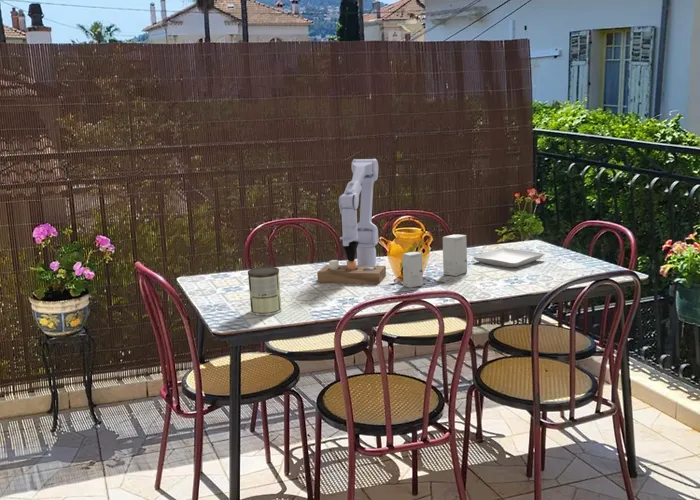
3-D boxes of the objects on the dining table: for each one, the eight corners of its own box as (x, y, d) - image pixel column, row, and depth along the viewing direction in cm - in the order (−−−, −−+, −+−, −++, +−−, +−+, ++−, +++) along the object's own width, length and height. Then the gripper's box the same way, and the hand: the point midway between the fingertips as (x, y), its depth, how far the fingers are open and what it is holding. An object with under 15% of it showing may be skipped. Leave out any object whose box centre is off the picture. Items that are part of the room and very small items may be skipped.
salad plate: (471, 263, 294) (471, 255, 293) (502, 254, 308) (502, 246, 307) (514, 271, 278) (514, 262, 278) (545, 261, 292) (545, 253, 291)
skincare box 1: (410, 288, 260) (409, 255, 258) (402, 285, 264) (401, 253, 261) (423, 285, 263) (422, 252, 261) (416, 282, 267) (415, 250, 264)
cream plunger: (331, 270, 280) (330, 260, 279) (340, 271, 279) (339, 260, 278) (328, 273, 277) (328, 262, 276) (337, 273, 276) (337, 262, 275)
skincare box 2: (455, 276, 273) (454, 238, 270) (442, 274, 277) (441, 236, 274) (467, 272, 279) (467, 234, 276) (455, 270, 283) (454, 233, 280)
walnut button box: (326, 274, 286) (326, 264, 285) (386, 275, 279) (385, 265, 278) (317, 282, 274) (317, 272, 273) (379, 283, 268) (378, 273, 267)
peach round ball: (348, 271, 278) (348, 260, 277) (357, 271, 277) (357, 260, 276) (346, 273, 275) (345, 262, 274) (355, 273, 274) (354, 262, 273)
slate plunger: (366, 277, 277) (365, 266, 276) (375, 277, 276) (375, 266, 275) (364, 280, 274) (363, 268, 273) (373, 280, 273) (372, 269, 272)
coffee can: (245, 311, 241) (241, 270, 238) (271, 305, 247) (268, 265, 244) (260, 317, 233) (257, 275, 230) (287, 311, 239) (284, 269, 236)
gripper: (344, 222, 280) (346, 256, 283) (334, 229, 267) (336, 264, 269) (362, 222, 278) (363, 256, 281) (352, 229, 265) (354, 265, 268)
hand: (351, 260), depth 275 cm, fingers closed
